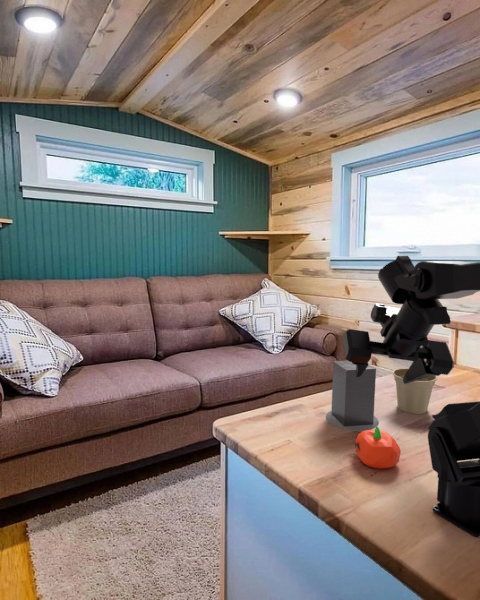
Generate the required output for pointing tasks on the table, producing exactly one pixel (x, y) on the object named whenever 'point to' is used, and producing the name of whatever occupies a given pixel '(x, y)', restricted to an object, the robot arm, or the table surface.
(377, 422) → the slate coaster
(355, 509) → the table surface
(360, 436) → the pumpkin
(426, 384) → the flower pot
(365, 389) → the dark grey square block
